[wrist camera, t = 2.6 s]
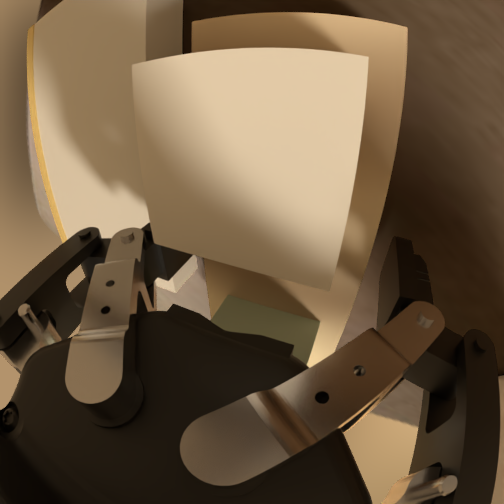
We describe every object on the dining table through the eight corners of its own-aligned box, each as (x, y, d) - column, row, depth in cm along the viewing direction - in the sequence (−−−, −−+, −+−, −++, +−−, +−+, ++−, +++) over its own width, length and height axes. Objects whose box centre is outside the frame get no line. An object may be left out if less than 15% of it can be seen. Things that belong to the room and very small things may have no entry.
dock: (56, 26, 10) (27, 30, 8) (185, -40, 7) (150, -53, 5) (84, 231, 21) (63, 246, 19) (197, 267, 17) (175, 294, 15)
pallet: (245, 36, 9) (191, 21, 6) (393, 48, 7) (407, 27, 4) (244, 311, 18) (217, 357, 15) (331, 336, 16) (316, 389, 13)
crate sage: (228, 294, 12) (184, 357, 9) (320, 321, 10) (295, 398, 8) (231, 347, 14) (200, 401, 11) (304, 371, 13) (281, 431, 10)
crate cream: (220, 64, 6) (132, 64, 4) (366, 73, 5) (368, 57, 3) (222, 187, 9) (154, 243, 6) (347, 212, 8) (329, 291, 5)
